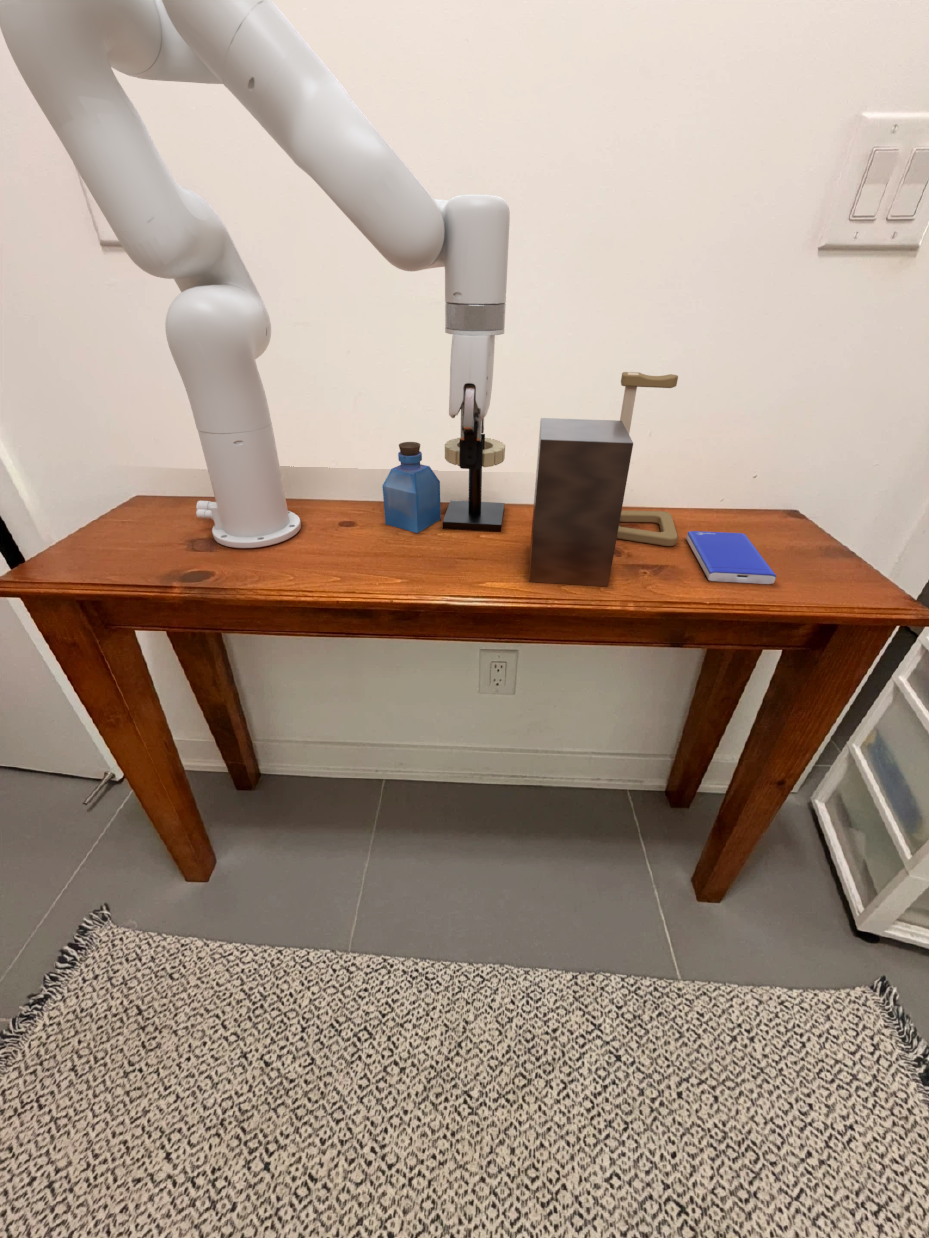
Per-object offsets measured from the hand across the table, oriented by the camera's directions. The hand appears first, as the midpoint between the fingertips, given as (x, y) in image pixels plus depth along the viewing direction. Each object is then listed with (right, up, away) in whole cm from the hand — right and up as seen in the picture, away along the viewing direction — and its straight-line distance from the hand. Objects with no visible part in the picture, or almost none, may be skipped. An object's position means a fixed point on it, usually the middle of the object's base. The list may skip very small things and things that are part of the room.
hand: (471, 464), depth 78 cm
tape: (0, +2, +3) cm, 3 cm away
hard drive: (+35, -15, -3) cm, 38 cm away
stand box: (+13, -15, -5) cm, 21 cm away
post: (+1, -6, +8) cm, 11 cm away
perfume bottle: (-9, -7, +7) cm, 14 cm away
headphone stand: (+25, -9, +5) cm, 27 cm away
